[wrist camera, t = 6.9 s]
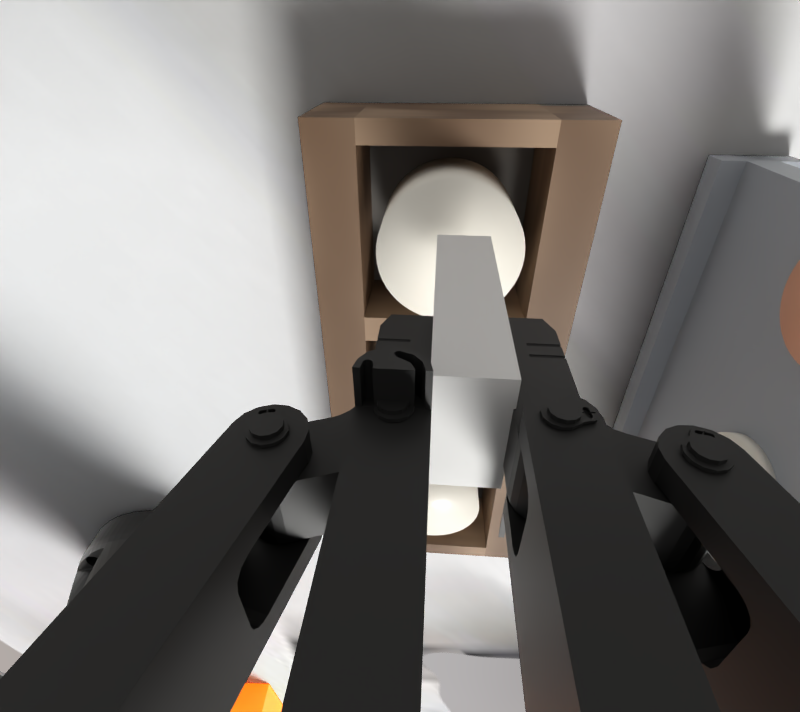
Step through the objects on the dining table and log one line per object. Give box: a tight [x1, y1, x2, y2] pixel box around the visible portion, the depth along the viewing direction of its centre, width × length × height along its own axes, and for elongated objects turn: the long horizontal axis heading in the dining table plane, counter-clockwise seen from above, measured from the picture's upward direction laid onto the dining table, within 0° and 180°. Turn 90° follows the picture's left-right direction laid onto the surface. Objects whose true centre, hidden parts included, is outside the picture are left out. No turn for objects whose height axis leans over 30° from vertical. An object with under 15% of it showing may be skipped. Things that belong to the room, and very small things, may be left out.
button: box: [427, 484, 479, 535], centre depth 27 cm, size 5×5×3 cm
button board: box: [298, 103, 622, 558], centre depth 23 cm, size 10×23×4 cm, turn 0°
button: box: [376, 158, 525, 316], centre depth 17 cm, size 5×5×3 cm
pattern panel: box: [613, 155, 800, 559], centre depth 19 cm, size 3×20×12 cm, turn 0°
